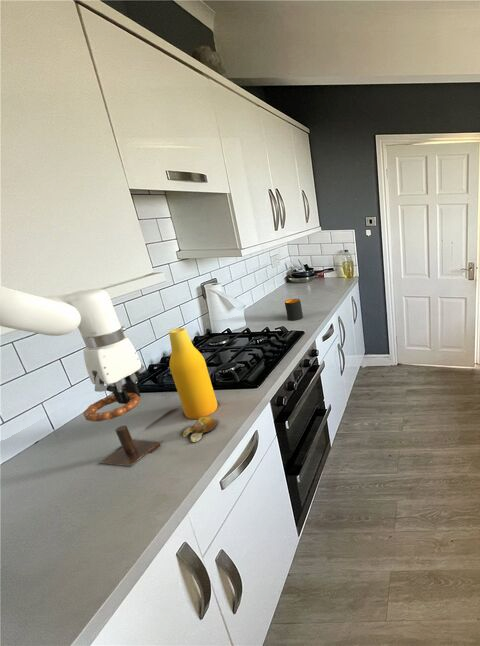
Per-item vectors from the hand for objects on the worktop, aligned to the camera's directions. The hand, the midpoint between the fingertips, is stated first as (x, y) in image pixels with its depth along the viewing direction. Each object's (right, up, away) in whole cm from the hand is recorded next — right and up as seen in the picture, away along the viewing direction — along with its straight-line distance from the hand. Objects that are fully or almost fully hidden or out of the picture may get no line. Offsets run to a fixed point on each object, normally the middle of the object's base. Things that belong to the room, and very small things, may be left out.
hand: (129, 399), depth 94 cm
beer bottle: (+6, -9, +20) cm, 23 cm away
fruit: (+12, -12, +10) cm, 20 cm away
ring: (-1, -1, -4) cm, 4 cm away
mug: (+4, +24, +106) cm, 108 cm away
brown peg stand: (0, -16, +1) cm, 16 cm away
